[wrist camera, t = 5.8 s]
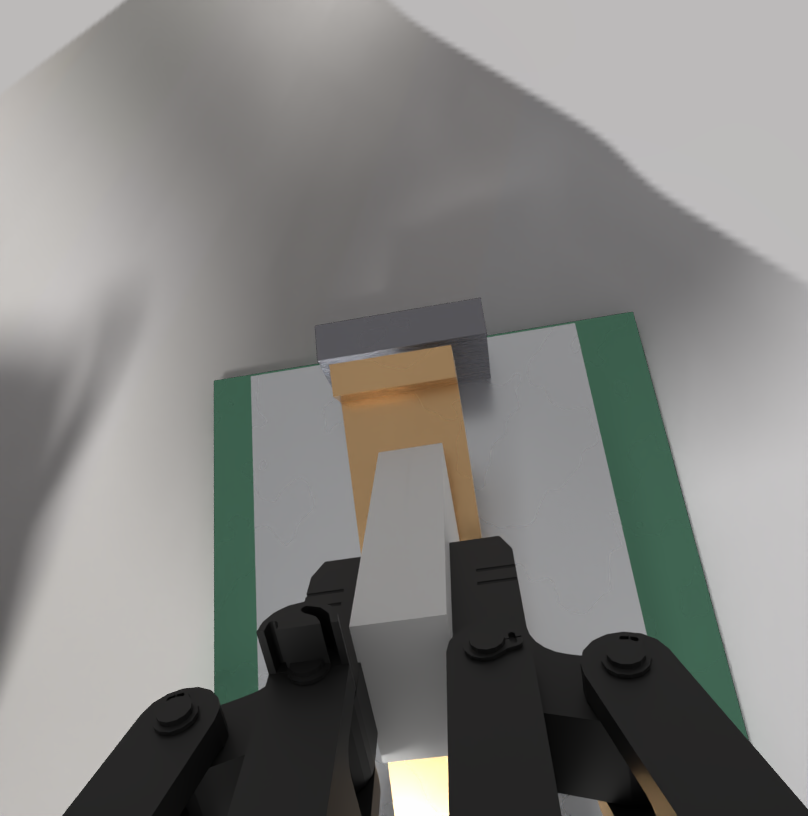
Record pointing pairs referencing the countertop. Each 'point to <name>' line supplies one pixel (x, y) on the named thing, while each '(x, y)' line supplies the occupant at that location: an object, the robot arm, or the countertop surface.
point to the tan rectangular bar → (365, 437)
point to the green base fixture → (494, 488)
